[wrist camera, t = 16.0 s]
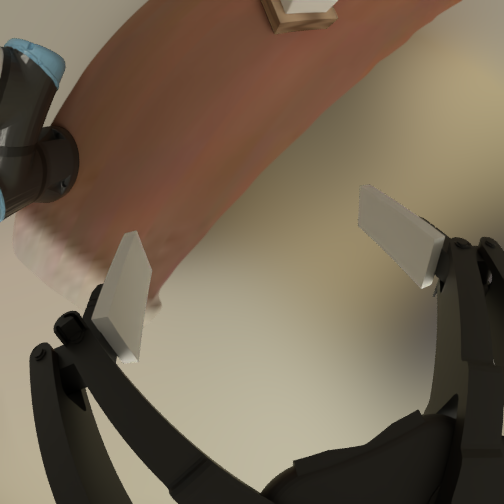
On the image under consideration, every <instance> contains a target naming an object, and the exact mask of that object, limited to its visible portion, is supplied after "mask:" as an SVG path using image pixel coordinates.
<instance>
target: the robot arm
mask: <svg viewBox="0 0 504 504" xmlns="http://www.w3.org/2000/svg"><path fill="white" fill-rule="evenodd" d="M64 71H65V61H64V59H63V58H62V57H61V56H60V55H58V54H57V53H55V52H53V51H51V50H49V49H47V48H45V47H43V46H40V45H38V44H33V43H31V42H29V41H26V40H23V39H17V38H12V39H10V40H9V41H8V42H7V43H6V44H5V45H4V47H0V222H1V221H2V220H4V219H5V218H7V217H9V216H10V215H12V214H14V213H15V212H17V211H19V210H20V209H22V208H24V207H26V206H27V205H29V204H31V203H33V202H39V203H49V202H53V201H56V200H58V199H60V198H61V197H63V196H65V195H66V194H67V193H68V192H69V191H70V189H71V188H72V186H73V185H74V183H75V180H76V178H77V174H78V169H79V154H78V149H77V146H76V143H75V141H74V139H73V137H72V136H71V134H70V133H69V132H68V131H66V130H65V129H63V128H61V127H58V126H49V127H43V124H44V121H45V119H46V116H47V113H48V110H49V108H50V105H51V102H52V100H53V98H54V95H55V93H56V91H57V90H58V88H59V83H60V80H61V78H62V76H63V73H64ZM42 127H43V128H42ZM358 226H359V227H360V228H361V229H362V230H363V231H364V232H365V233H366V234H367V235H368V236H370V237H371V238H372V239H373V240H374V241H375V242H376V243H377V244H378V245H379V246H380V247H381V248H382V249H383V250H384V251H385V252H386V253H387V254H388V255H389V256H390V257H391V258H392V259H393V260H394V261H395V262H396V263H397V264H398V265H399V266H400V267H401V268H402V269H403V270H404V271H405V272H406V273H407V274H408V275H409V277H410V278H411V279H412V280H413V281H414V282H415V283H416V284H417V285H418V286H419V287H420V288H421V289H422V288H424V287H427V286H429V285H431V284H432V281H433V278H434V275H436V276H437V277H438V278H439V280H438V283H437V286H436V288H435V291H434V294H433V297H435V295H436V293H437V305H438V306H437V341H436V355H435V367H434V376H433V383H432V390H431V396H430V401H429V404H428V406H427V408H426V410H425V412H424V414H423V415H421V413H420V411H419V410H416V411H415V412H413V413H411V414H409V415H408V416H405V417H404V418H402V419H400V420H398V421H396V422H394V423H392V424H391V425H390V426H389V427H387V428H386V429H385V430H384V431H382V432H381V433H380V434H379V435H378V436H376V437H375V438H374V439H372V440H371V441H370V442H368V443H367V444H365V445H362V446H356V447H350V448H344V449H335V450H327V451H325V452H321V453H319V454H315V455H312V456H309V457H305V458H302V459H298V460H294V461H293V466H292V467H290V468H288V469H286V470H285V471H283V472H282V473H280V474H279V475H277V476H276V477H275V478H274V479H272V481H270V483H268V484H267V486H266V487H265V488H264V489H263V491H262V492H261V493H259V492H258V491H256V490H255V489H253V488H252V487H250V486H248V485H247V484H245V483H244V482H242V481H241V480H240V479H238V478H237V477H235V476H233V475H232V474H231V473H229V472H228V471H227V470H225V469H224V468H222V467H221V466H220V465H219V464H217V463H216V462H215V461H213V460H212V459H211V458H210V457H208V456H207V455H206V454H205V453H203V452H202V451H201V450H200V449H199V448H197V447H196V446H195V445H194V444H193V443H192V442H190V441H189V440H188V439H187V438H186V437H185V436H184V435H182V434H181V433H180V432H179V431H178V430H177V429H176V428H175V427H174V426H173V425H172V424H171V423H170V422H169V421H168V420H167V419H166V418H164V417H163V416H162V414H161V413H160V412H159V411H158V410H157V409H155V407H154V406H153V405H152V404H151V403H150V402H149V401H148V400H147V399H146V398H145V397H144V396H143V395H142V393H141V392H140V391H139V390H138V389H137V388H136V387H135V386H134V385H133V383H132V382H131V381H130V380H129V379H128V378H127V376H126V375H125V374H124V373H123V372H122V370H121V369H120V368H119V367H118V365H117V364H116V358H117V356H118V357H119V359H120V360H121V361H122V362H123V363H132V362H139V353H140V345H141V337H142V329H143V322H144V315H145V308H146V302H147V296H148V290H149V284H150V279H151V274H152V269H151V267H150V264H149V262H148V259H147V257H146V254H145V251H144V249H143V246H142V244H141V241H140V238H139V236H138V233H137V231H133V232H129V233H125V234H124V236H123V238H122V240H121V243H120V245H119V247H118V249H117V252H116V254H115V257H114V259H113V261H112V264H111V266H110V269H109V271H108V274H107V276H106V279H105V281H104V284H100V285H98V286H97V287H96V288H95V289H94V291H93V292H92V294H91V296H90V299H89V302H88V304H87V308H86V310H85V312H84V315H83V318H82V317H81V316H80V314H79V313H78V312H77V311H69V312H67V313H65V314H63V315H62V316H61V317H60V318H59V319H58V320H57V321H56V323H55V325H54V333H55V334H56V336H57V337H58V338H59V339H60V340H61V342H62V343H63V344H64V345H62V346H60V347H57V348H55V349H53V348H52V347H51V346H50V344H48V343H41V344H39V345H38V346H36V347H35V348H34V349H33V351H32V353H31V355H30V361H29V362H30V383H31V395H32V405H33V413H34V420H35V427H36V432H37V437H38V442H39V447H40V452H41V456H42V460H43V464H44V467H45V471H46V475H47V478H48V481H49V484H50V487H51V490H52V493H53V496H54V499H55V501H56V504H132V502H131V500H130V498H129V496H128V495H127V493H126V491H125V489H124V487H123V485H122V483H121V481H120V479H119V477H118V475H117V473H116V471H115V469H114V467H113V464H112V462H111V460H110V458H109V455H108V453H107V450H106V448H105V446H104V443H103V441H102V438H101V435H100V433H99V430H98V427H97V424H96V421H95V419H94V416H93V413H92V410H91V406H90V403H89V400H88V396H87V393H86V389H85V388H86V387H88V389H89V390H90V392H91V393H92V395H93V396H94V398H95V400H96V401H97V403H98V404H99V406H100V407H101V409H102V410H103V411H104V413H105V415H106V416H107V417H108V419H109V420H110V422H111V423H112V424H113V425H114V427H115V428H116V429H117V431H118V432H119V434H120V435H121V436H122V437H123V439H124V440H125V441H126V442H127V444H128V445H129V446H130V447H131V449H132V450H133V451H134V452H135V453H136V454H137V456H138V457H139V458H140V459H141V460H142V461H143V462H144V463H145V465H146V466H147V467H148V468H149V469H150V470H151V471H152V472H153V473H154V474H155V475H156V476H157V477H158V478H159V479H160V480H161V481H162V482H163V483H164V485H165V486H166V487H167V488H168V489H169V494H170V495H171V496H172V498H173V499H174V500H175V501H176V502H177V503H178V504H504V436H502V425H503V406H504V251H503V250H502V248H501V247H500V245H499V244H498V243H497V242H496V241H495V240H494V239H492V238H490V237H482V238H481V239H480V242H479V245H478V246H472V245H471V244H470V243H469V242H468V241H467V240H465V239H462V238H457V237H455V238H452V239H451V238H449V237H448V236H447V235H445V234H444V233H443V232H442V231H440V230H439V229H438V228H435V226H434V225H432V224H430V223H429V222H428V221H427V220H425V219H424V218H422V217H419V216H417V215H416V214H414V213H413V212H411V211H410V210H409V209H407V208H406V207H404V206H403V205H401V204H400V203H398V202H397V201H395V200H394V199H392V198H391V197H389V196H388V195H386V194H385V193H383V192H381V191H380V190H378V189H377V188H375V187H374V186H372V185H370V184H369V185H362V186H360V196H359V217H358ZM490 274H492V282H491V283H489V281H488V280H489V277H490ZM493 359H494V363H495V365H494V363H493Z"/></svg>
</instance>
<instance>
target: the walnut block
mask: <svg viewBox="0 0 504 504" xmlns="http://www.w3.org/2000/svg"><path fill="white" fill-rule="evenodd" d="M261 2H262V4H263V7H264V9H265V12H266V14H267V17H268V19H269V22H270V24H271V27H272V29H273V32H274V34H280V33H287V32H295V31H304V30H315V29H327V28H328V27H329V26H330V25H331V24H333V23H334V22H335V21H336V20H337V19H338V17H337V14H336V12H335V10H334V7H333V6H332V7H331V8H330V9H329V10H328V11H327V12H313V13H293V14H286V13H285V11H284V8H283V6H282V3H281V1H280V0H261Z"/></svg>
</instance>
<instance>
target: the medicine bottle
mask: <svg viewBox="0 0 504 504" xmlns="http://www.w3.org/2000/svg"><path fill="white" fill-rule="evenodd" d="M280 1H281V3H282V6H283V8H284V11H285V13H286V14H293V13H313V12H327V11H328V10H329V9H330V8H331V7H332V6H333V5H334V4H335V3H336V2H337V1H338V0H280Z"/></svg>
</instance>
